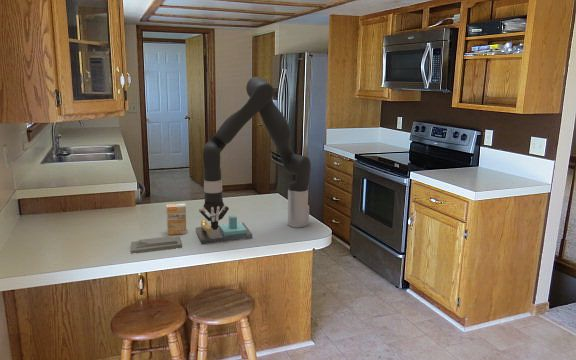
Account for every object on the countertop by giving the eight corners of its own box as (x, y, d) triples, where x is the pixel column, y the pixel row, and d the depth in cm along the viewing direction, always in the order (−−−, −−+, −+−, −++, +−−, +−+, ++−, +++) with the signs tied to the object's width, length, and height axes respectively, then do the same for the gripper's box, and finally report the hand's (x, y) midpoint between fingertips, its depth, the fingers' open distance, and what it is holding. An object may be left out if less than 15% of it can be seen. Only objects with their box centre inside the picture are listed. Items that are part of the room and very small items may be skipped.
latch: (200, 229, 206) (200, 220, 205) (205, 228, 207) (205, 219, 206) (207, 236, 198) (207, 227, 197) (213, 236, 199) (212, 226, 198)
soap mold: (130, 246, 194) (130, 238, 193) (179, 240, 201) (179, 233, 200) (131, 255, 185) (130, 247, 184) (182, 249, 191) (182, 241, 191)
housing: (243, 226, 217) (243, 222, 217) (252, 238, 203) (252, 234, 202) (195, 231, 210) (195, 227, 210) (201, 244, 195) (201, 239, 195)
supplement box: (167, 235, 205) (166, 207, 202) (167, 231, 209) (165, 203, 206) (186, 234, 207) (185, 205, 204) (186, 230, 212) (185, 202, 208)
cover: (241, 225, 212) (240, 212, 211) (246, 233, 203) (246, 218, 202) (219, 228, 209) (219, 214, 208) (224, 235, 200) (223, 221, 198)
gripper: (199, 194, 189) (201, 234, 194) (231, 190, 195) (232, 229, 199) (195, 189, 196) (197, 228, 200) (225, 186, 201) (227, 224, 206)
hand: (214, 229), depth 200 cm, fingers closed
